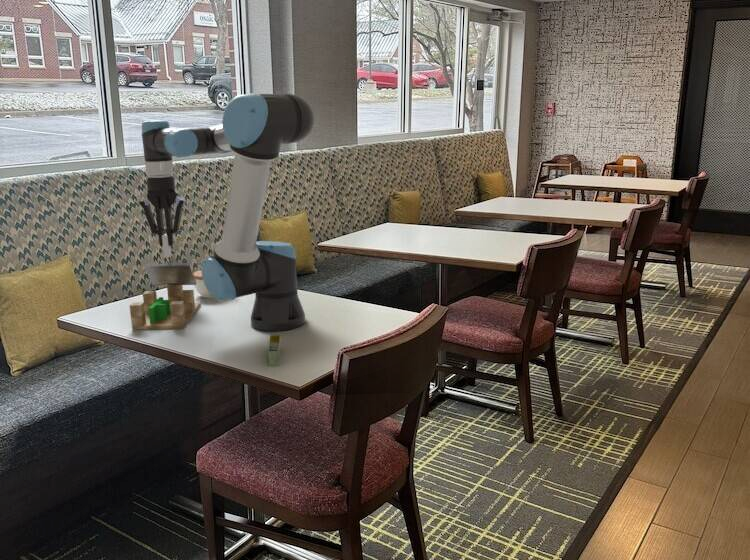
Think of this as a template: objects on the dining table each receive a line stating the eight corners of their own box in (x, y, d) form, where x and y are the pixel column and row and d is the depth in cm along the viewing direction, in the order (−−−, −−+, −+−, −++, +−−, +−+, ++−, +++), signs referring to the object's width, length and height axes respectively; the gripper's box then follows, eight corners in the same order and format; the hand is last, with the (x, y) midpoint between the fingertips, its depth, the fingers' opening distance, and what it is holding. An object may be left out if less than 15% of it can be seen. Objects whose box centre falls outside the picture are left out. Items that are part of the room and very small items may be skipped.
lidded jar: (224, 299, 216) (222, 271, 214) (191, 300, 216) (188, 271, 214) (231, 290, 226) (229, 263, 224) (198, 291, 226) (196, 264, 224)
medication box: (279, 366, 160) (278, 350, 159) (267, 367, 160) (267, 351, 159) (280, 349, 172) (280, 334, 171) (269, 349, 171) (269, 334, 170)
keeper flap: (195, 285, 207) (196, 282, 207) (189, 265, 200) (190, 262, 200) (152, 286, 206) (153, 283, 207) (145, 266, 199) (145, 263, 200)
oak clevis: (200, 305, 210) (198, 283, 208) (183, 328, 189) (180, 304, 187) (154, 306, 210) (152, 285, 208) (132, 329, 188) (129, 305, 187)
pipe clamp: (163, 323, 190) (162, 307, 189) (150, 323, 190) (148, 308, 189) (173, 311, 201) (172, 296, 200) (160, 311, 201) (159, 296, 200)
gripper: (186, 174, 198) (193, 253, 204) (141, 174, 198) (149, 254, 204) (179, 176, 191) (187, 258, 197) (132, 177, 191) (141, 259, 197)
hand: (167, 256), depth 201 cm, fingers closed
